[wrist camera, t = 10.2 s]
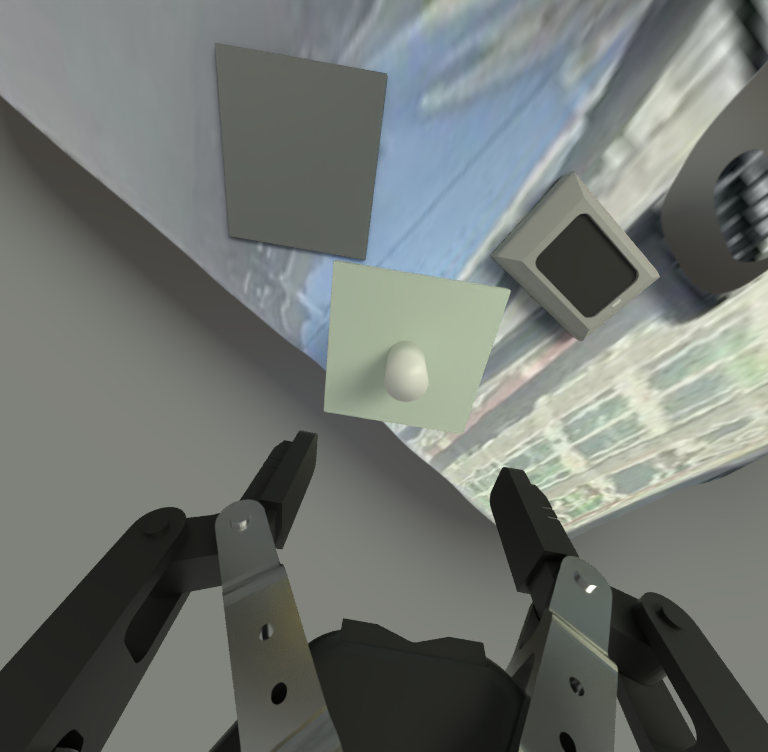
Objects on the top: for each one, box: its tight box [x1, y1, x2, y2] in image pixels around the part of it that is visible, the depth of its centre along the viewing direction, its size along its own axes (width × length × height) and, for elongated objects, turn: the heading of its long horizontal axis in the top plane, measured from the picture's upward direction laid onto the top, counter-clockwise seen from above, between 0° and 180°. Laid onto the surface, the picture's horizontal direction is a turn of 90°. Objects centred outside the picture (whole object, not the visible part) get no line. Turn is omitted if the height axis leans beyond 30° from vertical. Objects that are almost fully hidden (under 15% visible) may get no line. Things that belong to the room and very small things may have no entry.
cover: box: [324, 260, 511, 434], centre depth 21 cm, size 13×13×6 cm
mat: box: [215, 43, 387, 260], centre depth 29 cm, size 16×16×1 cm
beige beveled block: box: [490, 171, 660, 341], centre depth 30 cm, size 10×4×15 cm
